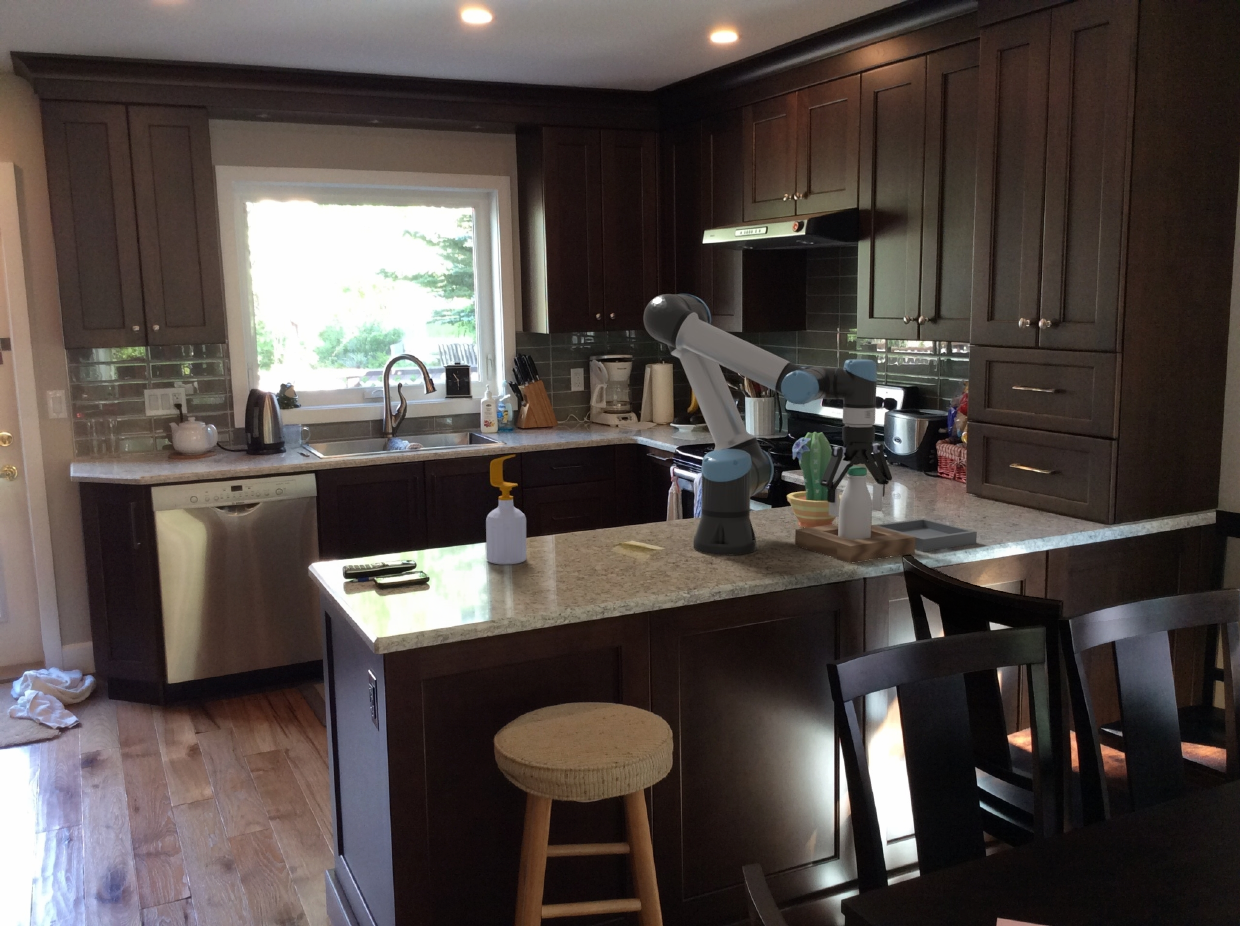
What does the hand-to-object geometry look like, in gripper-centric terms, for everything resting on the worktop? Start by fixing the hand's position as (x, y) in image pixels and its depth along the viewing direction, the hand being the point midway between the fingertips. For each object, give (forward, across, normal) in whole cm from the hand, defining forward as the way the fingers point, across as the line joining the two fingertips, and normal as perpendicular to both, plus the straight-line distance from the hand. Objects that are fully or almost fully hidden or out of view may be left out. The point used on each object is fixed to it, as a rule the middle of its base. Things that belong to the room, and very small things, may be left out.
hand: (855, 513), depth 253 cm
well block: (+9, 0, 0) cm, 9 cm away
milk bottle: (+9, 0, 0) cm, 9 cm away
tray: (+9, +22, 0) cm, 24 cm away
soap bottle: (+9, -78, +30) cm, 84 cm away
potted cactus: (+9, +9, +26) cm, 29 cm away
